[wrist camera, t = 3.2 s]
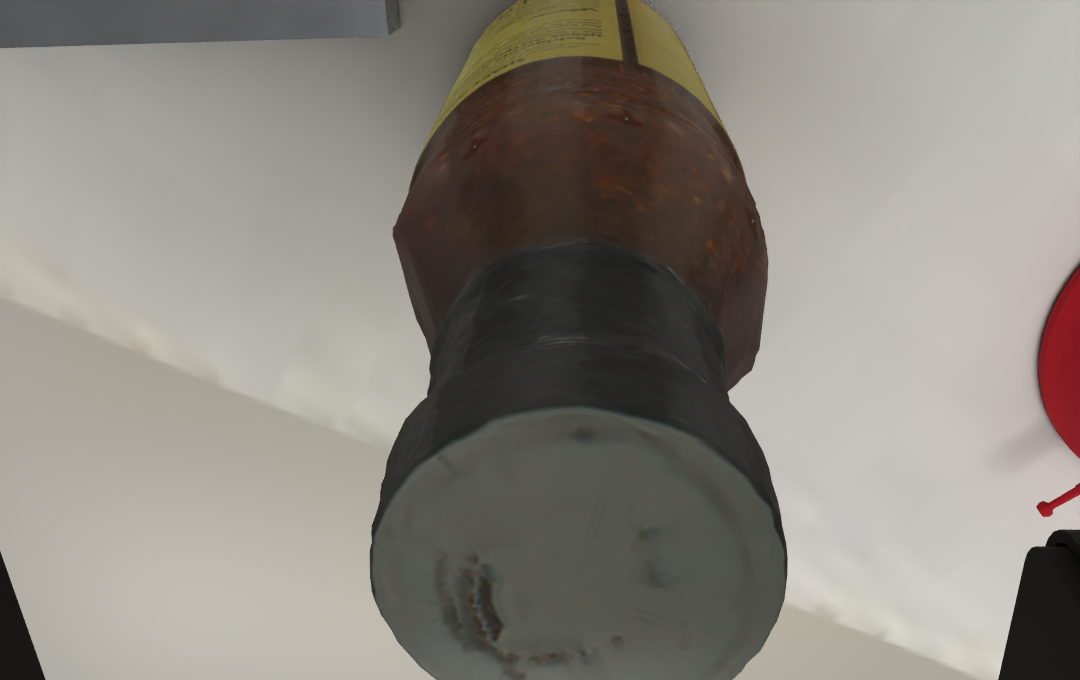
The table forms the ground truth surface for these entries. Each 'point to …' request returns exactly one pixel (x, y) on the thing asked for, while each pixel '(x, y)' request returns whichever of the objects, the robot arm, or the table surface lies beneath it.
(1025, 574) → the robot arm
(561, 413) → the sauce bottle
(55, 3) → the base
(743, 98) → the table surface
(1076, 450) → the alarm clock
